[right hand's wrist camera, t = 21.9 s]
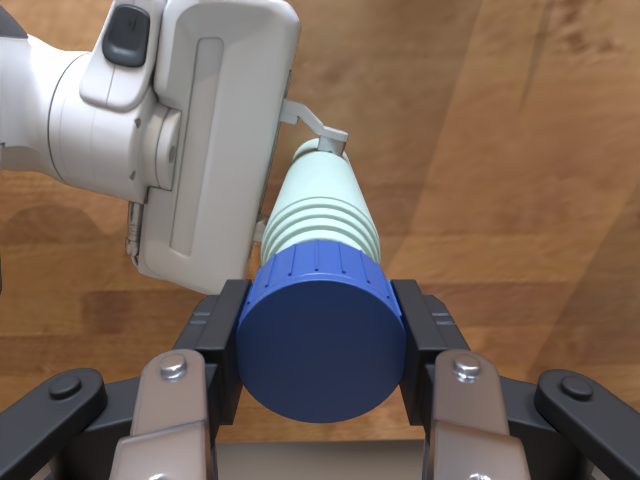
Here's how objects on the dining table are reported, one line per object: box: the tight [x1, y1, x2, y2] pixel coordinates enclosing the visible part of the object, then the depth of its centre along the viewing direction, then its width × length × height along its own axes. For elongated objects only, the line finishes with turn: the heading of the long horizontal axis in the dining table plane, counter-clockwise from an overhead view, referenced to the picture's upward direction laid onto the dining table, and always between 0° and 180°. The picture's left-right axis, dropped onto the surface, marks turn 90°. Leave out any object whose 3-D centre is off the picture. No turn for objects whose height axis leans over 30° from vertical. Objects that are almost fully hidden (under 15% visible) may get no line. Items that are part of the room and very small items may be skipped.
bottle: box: [261, 138, 381, 267], centre depth 22 cm, size 5×5×25 cm
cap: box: [236, 240, 407, 423], centre depth 11 cm, size 5×5×3 cm
